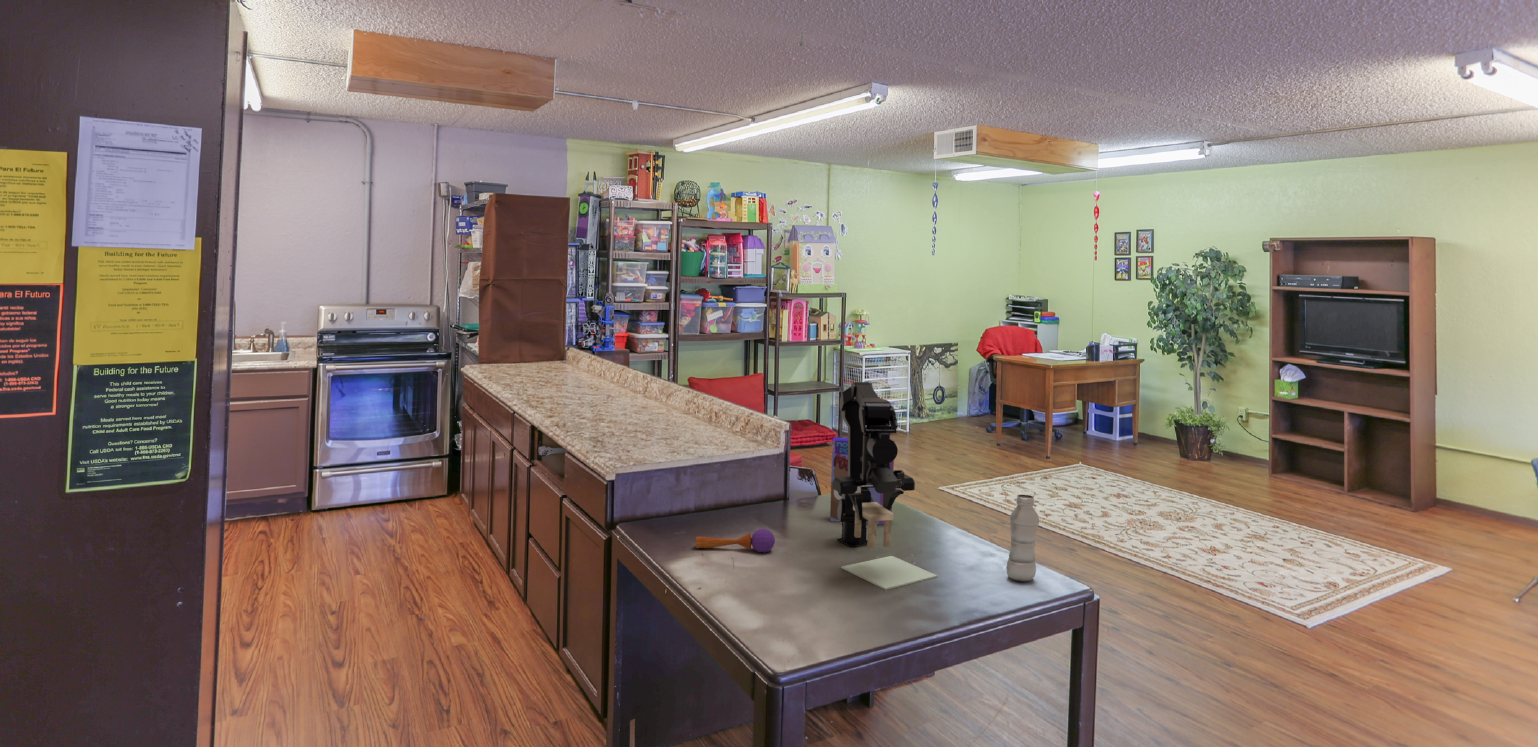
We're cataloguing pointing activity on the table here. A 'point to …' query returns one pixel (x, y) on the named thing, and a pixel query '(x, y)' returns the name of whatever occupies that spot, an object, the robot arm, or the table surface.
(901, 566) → the mat
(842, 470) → the cereal box
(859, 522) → the beige wooden bench
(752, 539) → the kendama
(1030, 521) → the plastic bottle
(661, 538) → the table surface
